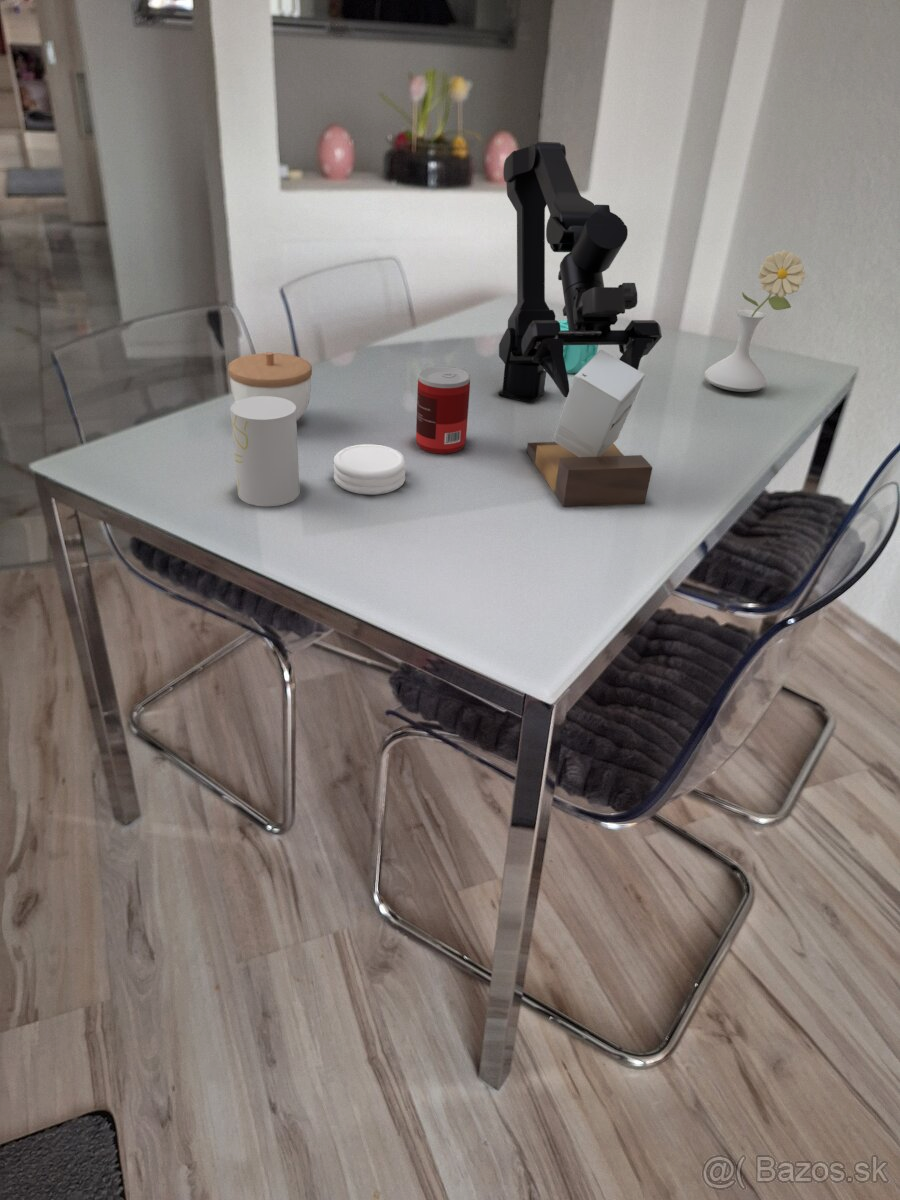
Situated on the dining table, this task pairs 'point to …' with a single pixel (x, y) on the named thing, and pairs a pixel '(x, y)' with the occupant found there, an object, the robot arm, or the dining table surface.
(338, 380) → the dining table surface
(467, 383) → the canned food
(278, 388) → the lidded bowl
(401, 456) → the coaster
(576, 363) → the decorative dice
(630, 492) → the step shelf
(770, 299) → the flower in vase
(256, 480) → the cup
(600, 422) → the white packaging box
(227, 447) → the dining table surface
